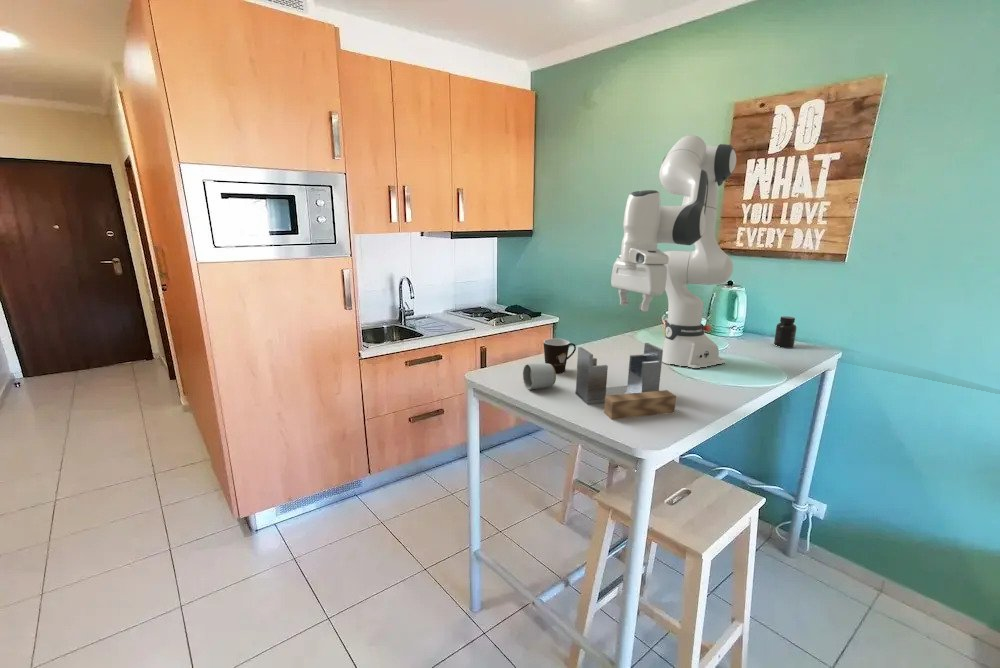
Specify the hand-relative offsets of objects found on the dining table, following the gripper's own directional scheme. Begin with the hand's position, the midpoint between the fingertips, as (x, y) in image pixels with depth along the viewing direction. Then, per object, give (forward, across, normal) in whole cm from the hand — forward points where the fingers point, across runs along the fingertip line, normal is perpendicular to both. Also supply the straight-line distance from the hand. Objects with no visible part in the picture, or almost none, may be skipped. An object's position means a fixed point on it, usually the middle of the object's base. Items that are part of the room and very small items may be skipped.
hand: (633, 308), depth 114 cm
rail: (+27, +8, 0) cm, 28 cm away
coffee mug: (+26, -28, -8) cm, 39 cm away
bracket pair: (+26, -4, 0) cm, 26 cm away
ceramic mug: (+26, -17, -20) cm, 37 cm away
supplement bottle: (+23, -34, +92) cm, 101 cm away
